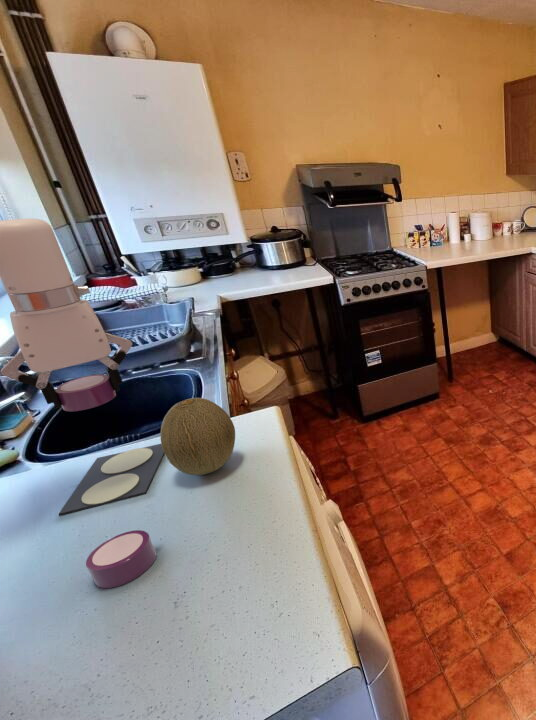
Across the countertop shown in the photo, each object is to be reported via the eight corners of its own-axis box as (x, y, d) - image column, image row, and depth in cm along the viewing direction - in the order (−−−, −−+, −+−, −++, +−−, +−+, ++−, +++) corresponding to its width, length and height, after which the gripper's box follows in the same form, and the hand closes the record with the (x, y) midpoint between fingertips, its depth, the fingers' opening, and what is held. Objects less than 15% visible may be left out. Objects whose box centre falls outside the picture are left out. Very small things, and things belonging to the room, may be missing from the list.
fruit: (255, 450, 90) (236, 386, 84) (218, 488, 79) (194, 417, 74) (201, 450, 90) (179, 386, 85) (158, 487, 80) (130, 417, 74)
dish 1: (54, 415, 72) (45, 396, 71) (73, 396, 78) (65, 378, 77) (107, 405, 75) (100, 387, 74) (122, 388, 81) (115, 371, 79)
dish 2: (86, 596, 60) (76, 577, 58) (105, 557, 65) (96, 539, 64) (149, 576, 62) (140, 558, 61) (162, 541, 68) (154, 523, 67)
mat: (59, 515, 74) (57, 513, 74) (97, 459, 88) (96, 457, 88) (146, 493, 78) (145, 491, 78) (169, 443, 93) (168, 441, 93)
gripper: (113, 284, 78) (145, 373, 85) (-36, 307, 66) (15, 409, 73) (120, 291, 73) (154, 385, 80) (-38, 317, 61) (17, 425, 68)
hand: (88, 396), depth 76 cm, fingers closed on dish 1, 7 cm apart
